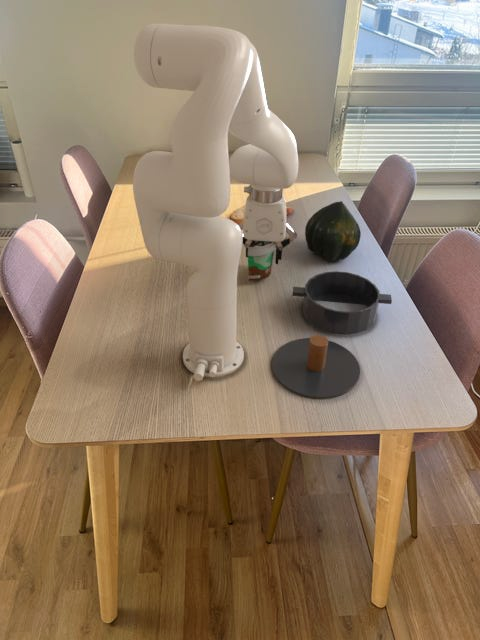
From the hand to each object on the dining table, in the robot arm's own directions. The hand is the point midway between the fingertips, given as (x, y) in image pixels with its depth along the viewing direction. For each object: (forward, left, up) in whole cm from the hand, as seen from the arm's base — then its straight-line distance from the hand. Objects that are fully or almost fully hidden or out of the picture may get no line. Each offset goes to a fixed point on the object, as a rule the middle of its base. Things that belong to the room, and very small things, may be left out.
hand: (263, 260), depth 129 cm
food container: (0, 0, -4) cm, 4 cm away
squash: (+15, -17, -5) cm, 23 cm away
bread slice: (+34, +4, -5) cm, 35 cm away
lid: (-34, -14, -4) cm, 37 cm away
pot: (-14, -19, -5) cm, 24 cm away
